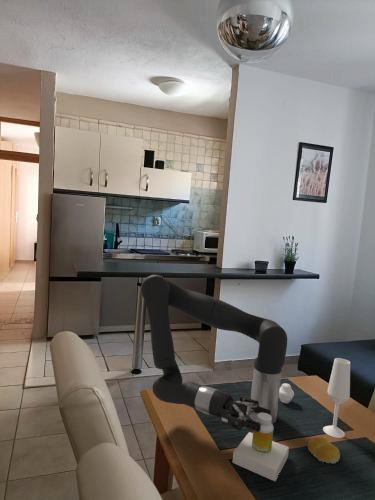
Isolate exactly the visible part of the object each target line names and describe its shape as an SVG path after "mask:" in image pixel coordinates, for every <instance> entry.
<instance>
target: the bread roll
mask: <svg viewBox="0 0 375 500" xmlns="http://www.w3.org/2000/svg"><path fill="white" fill-rule="evenodd" d="M307 448H308V451H309V453H310V452H311V453H310V454H311V455H312V454H313V455H312V456H314V458H315V457H316V458H317V459H318V460H317V459H316V458H315V459H316V460H317V461H319V462H321V461H322V462H321V463H324V462H326V463H325V464H330V463H331V464H332V465H333V464H336V462H337V463H338V462H339V460H340V459H341V458H340V457H341V453H340V450H339V449H338V447H336V446H335V445H333V444H332V443H331V442H330V441H329V440H328V439H327V438H325V437H323V436H317V437H313V438H311V439H310V440H309V441H308V442H307Z"/></svg>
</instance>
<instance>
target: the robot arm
mask: <svg viewBox="0 0 375 500" xmlns="http://www.w3.org/2000/svg"><path fill="white" fill-rule="evenodd" d="M140 293H141V297H142V298H143V300H144V304H145V306H146V310H147V314H148V319H149V326H150V342H151V353H152V360H153V365H154V366H155V368H156V369H158V370H162V374H163V375H161V376H160V377H159V378H156V379H155V381H154V382H153V384H152V388H151V389H152V393H153V395H154V396H155V398H157V399H158V400H159V401H160V402H161V401H162V402H164V403H167V404H176V405H184V406H187V407H190V408H193V409H196V410H197V411H199V412H201V413H203V414H206V415H208V416H210V417H212V418H213V417H214V418H217V419H219V420H220V421H221V424H223V425H224V426H228V427H230V428H232V429H235V430H236V431H242V429H248V430H249V429H250V430H252V431H253V430H254V431H257V432H259V431H260V430H261V424H260V423H259V422H256V421H257V415H258V413H267V414H269V415H271V417H272V425H274V424H275V423H276V422H277V415H278V407H279V400H280V398H279V390H280V387H281V379H282V371H283V369H282V368H283V367H284V364H285V361H286V355H287V349H288V348H287V347H288V335H287V332H286V331H285V329H284V328H283V327H282V326H281V325H280V324H279V323H277V322H276V321H274V320H272V319H268V318H265V317H260V316H257V315H254V314H252V313H248V312H245V311H244V310H242V309H240V308H238V307H236V306H234V305H233V304H230V303H228V302H225V301H224V300H221V299H218V298H216V297H214V296H210V295H208V294H204V293H202V292H198V291H194V290H190V289H186V288H184V287H181V286H180V285H178V284H176V283H174V282H172V281H170V280H168V279H167V278H164V276H162V275H159V274H151V275H149V276H147V277H145V278H144V280H142V283H141V285H140ZM169 307H171V308H173V309H176V310H178V311H181V312H182V313H184V314H185V315H187V316H188V317H190V318H192V319H194V320H196V321H198V322H199V323H202V324H205V325H207V326H208V327H209V326H210V327H211V328H213V329H218V330H222V331H229V332H234V333H235V332H236V333H240V334H242V335H244V336H246V337H248V338H251V339H253V340H254V341H256V342H257V343H258V352H257V357H256V358H255V359H254V361H253V369H252V371H253V373H252V379H251V380H252V381H251V382H252V384H251V391H250V398H249V397H245V396H242V395H240V396H239V398H238V400H236V399H234V398H233V396H232V394H231V393H228V392H226V391H223V390H220V389H217V388H213V387H211V386H205V385H202V384H200V383H196V382H194V381H193V382H192V381H186V382H183V376H182V373H181V370H180V368H179V365H178V362H177V360H176V354H175V348H174V341H173V340H174V339H173V335H172V329H171V323H170V315H169ZM246 416H248V417H249V418H247V417H246ZM235 423H236V424H235Z"/></svg>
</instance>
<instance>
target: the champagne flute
mask: <svg viewBox="0 0 375 500" xmlns="http://www.w3.org/2000/svg"><path fill="white" fill-rule="evenodd" d="M331 368H332V369H331V374H330V378H329V382H328V386H327V395H328V397H329V398H330V399H331V400H332V401H333V403H334V412H333V417H332V418H333V420H332V425H326V426H323V428H322V430H323V432H324V433H325V434H327V435H328V436H330V437H333V438H337V439H340V438H341V439H342V438H344V437H345V436H346V433H345V432H344V431H343V430H342V429H340V428H339V427H338V426H337V425H338V416H339V409H340V404H341V405H342V404H343V403H345V402H347V401H348V400H349V398H351V397H350V396H351V391H350V390H351V361H350V360H348V359H345V358H341V357H336V358H334V360H333V365H332V367H331Z"/></svg>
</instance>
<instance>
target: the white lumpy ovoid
mask: <svg viewBox="0 0 375 500" xmlns="http://www.w3.org/2000/svg"><path fill="white" fill-rule="evenodd" d="M294 396H295V392H294V390H293V389H292V386H291V385H290V384H289V383H287V382H285V383H282V384H281V385H280V390H279V400H280V402H281V403H282V404H289V403H290V402H291V400H292V399H293V397H294Z"/></svg>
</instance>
